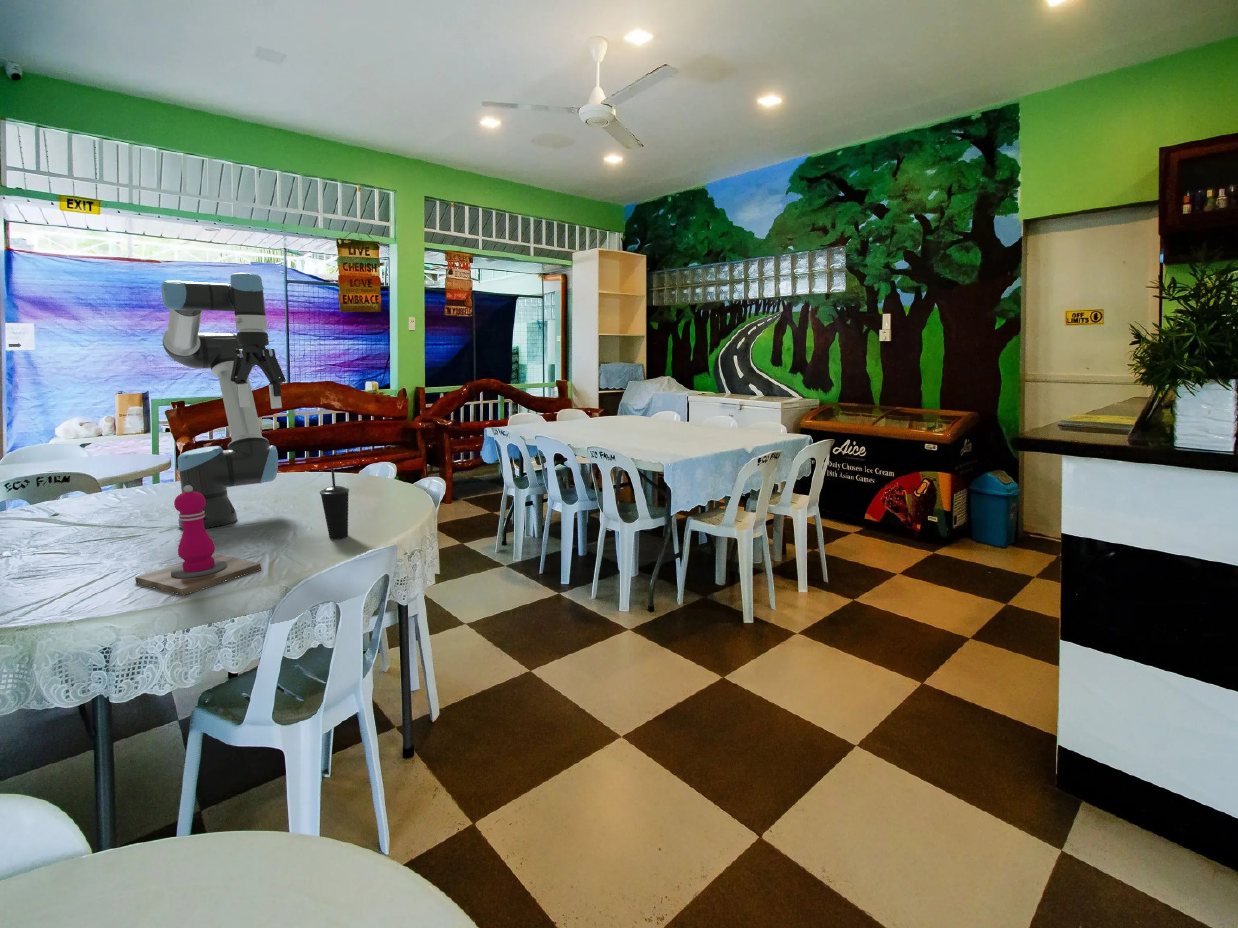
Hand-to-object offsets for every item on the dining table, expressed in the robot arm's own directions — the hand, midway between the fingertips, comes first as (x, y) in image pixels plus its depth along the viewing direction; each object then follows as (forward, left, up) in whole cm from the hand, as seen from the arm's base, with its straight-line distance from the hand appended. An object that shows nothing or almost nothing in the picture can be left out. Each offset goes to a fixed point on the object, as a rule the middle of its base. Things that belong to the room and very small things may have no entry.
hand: (260, 407), depth 175 cm
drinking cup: (+22, +4, -37) cm, 43 cm away
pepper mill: (+18, -32, -35) cm, 51 cm away
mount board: (+18, -32, -37) cm, 52 cm away
